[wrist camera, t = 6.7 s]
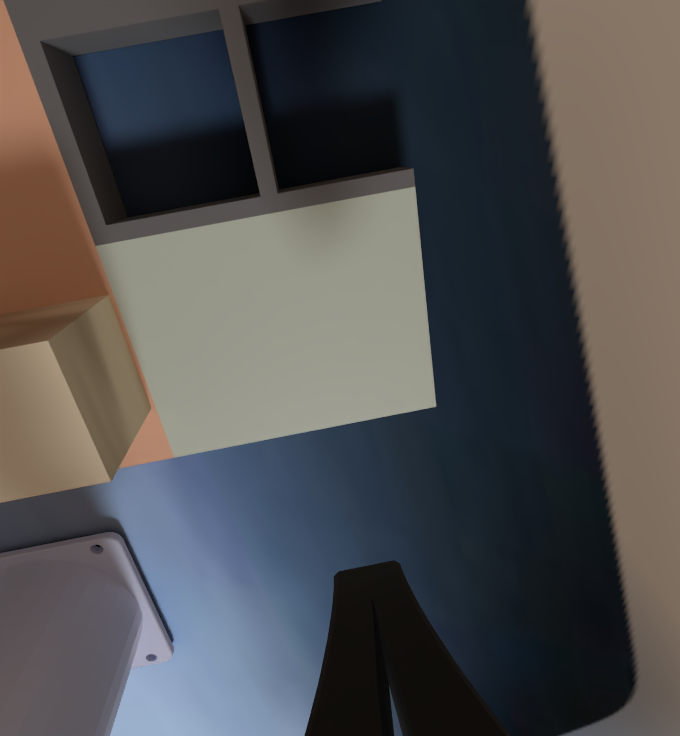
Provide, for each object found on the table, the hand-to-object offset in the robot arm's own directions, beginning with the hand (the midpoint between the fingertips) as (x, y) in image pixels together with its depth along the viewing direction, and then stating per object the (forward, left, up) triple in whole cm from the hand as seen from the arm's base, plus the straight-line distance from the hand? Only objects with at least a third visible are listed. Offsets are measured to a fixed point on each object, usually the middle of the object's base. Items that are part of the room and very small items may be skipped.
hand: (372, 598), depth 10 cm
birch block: (-8, +4, -7) cm, 12 cm away
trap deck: (-4, +7, -9) cm, 12 cm away
